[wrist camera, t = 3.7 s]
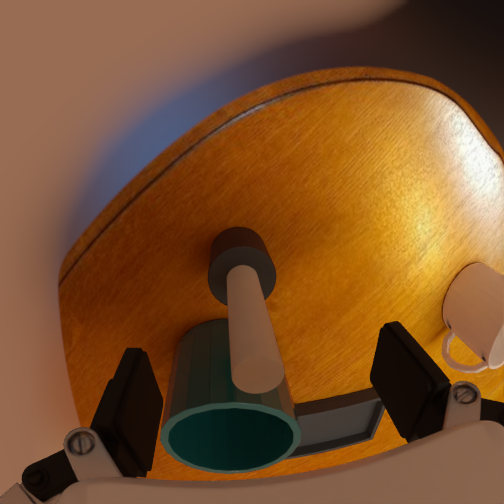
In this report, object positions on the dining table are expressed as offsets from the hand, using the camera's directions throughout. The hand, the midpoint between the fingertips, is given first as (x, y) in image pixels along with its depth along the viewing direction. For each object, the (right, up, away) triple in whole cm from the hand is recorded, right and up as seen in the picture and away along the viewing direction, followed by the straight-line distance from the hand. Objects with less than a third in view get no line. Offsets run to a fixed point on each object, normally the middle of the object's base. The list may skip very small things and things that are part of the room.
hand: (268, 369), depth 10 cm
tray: (+10, -17, +21) cm, 29 cm away
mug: (+25, -2, +18) cm, 30 cm away
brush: (-2, +4, +13) cm, 14 cm away
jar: (-3, -6, +16) cm, 18 cm away
